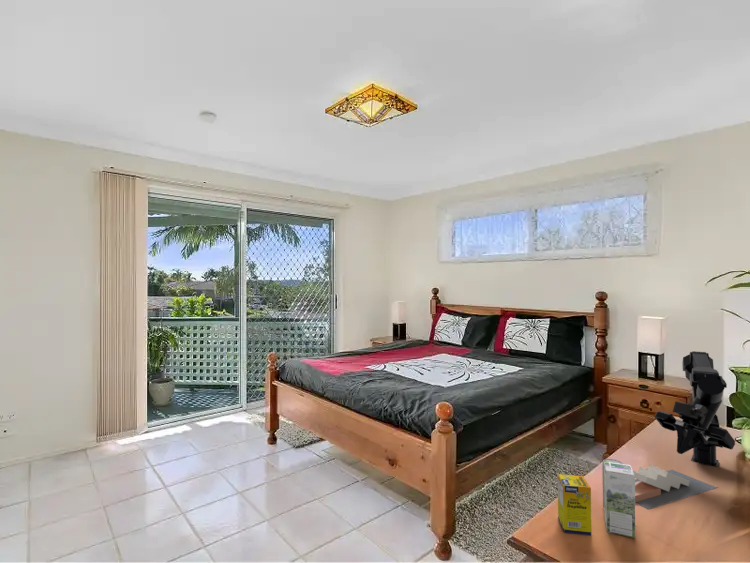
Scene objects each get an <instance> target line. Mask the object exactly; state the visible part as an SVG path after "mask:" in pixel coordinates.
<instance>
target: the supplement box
mask: <svg viewBox="0 0 750 563" xmlns="http://www.w3.org/2000/svg"><path fill="white" fill-rule="evenodd" d="M557 515H558V516H557V519H558V522H559V524H560V526H561V529H562V531H563V533H565V534H574V535H586V536H592V488H591V486H590V485H589V483H588V481H587V479H586V478H585V477H584V476H583V475H571V474H561V473H560V474H557Z"/></svg>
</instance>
